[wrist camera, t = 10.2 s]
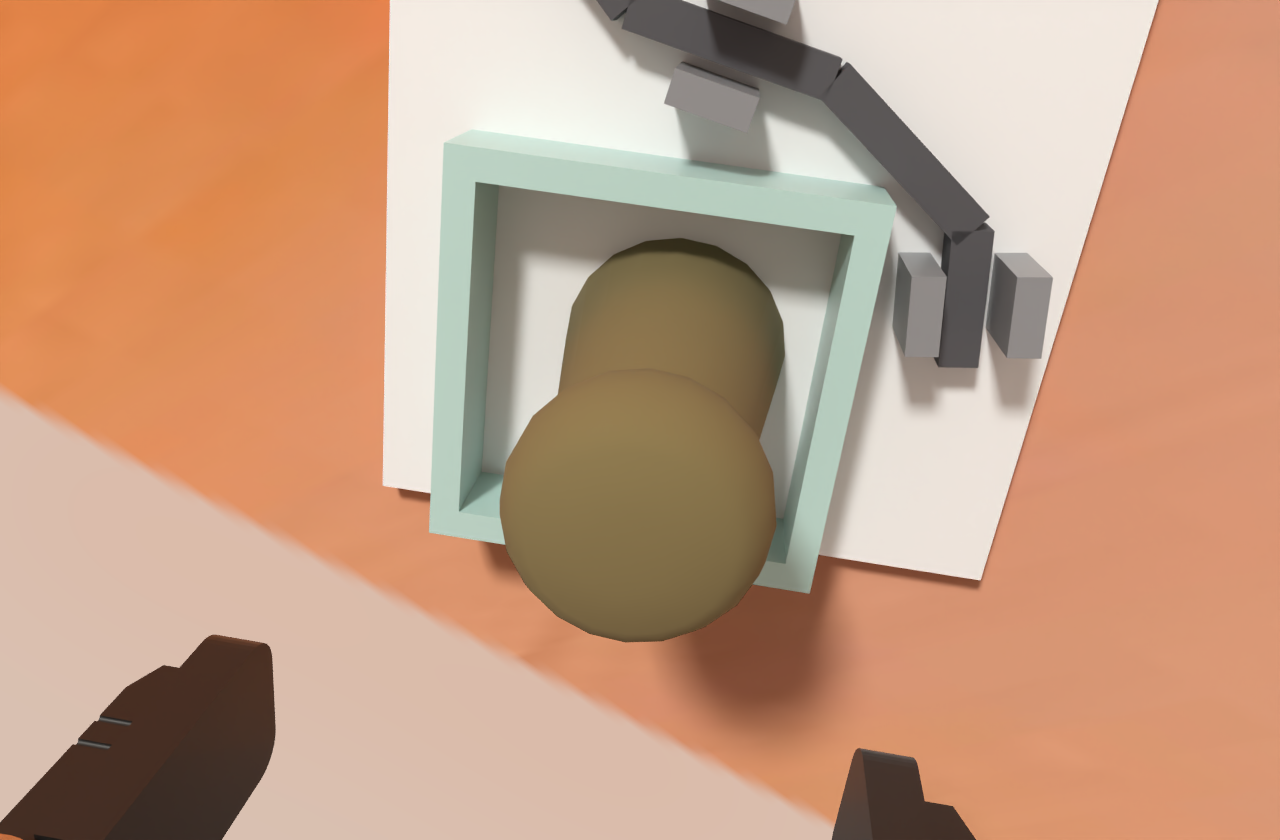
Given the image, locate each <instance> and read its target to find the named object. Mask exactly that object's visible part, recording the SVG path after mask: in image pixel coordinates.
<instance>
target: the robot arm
mask: <svg viewBox="0 0 1280 840" xmlns="http://www.w3.org/2000/svg"><path fill="white" fill-rule="evenodd" d="M274 740H275V708H274V687H273V666H272V654H271V649H270V647H269V646H268V645H267V644H265V643H260V642H255V641H249V640H242V639H237V638H232V637H226V636H220V635H211V636H209V637H207V638H206V639H205V640H204V641H203V642H202V643H201V644H200V645H199V646H198V647H197V649H196V650H195V651H194V652H193V653H192V654H191V655H190V657H189V658H188V659H187V660H186V661H185V662H184V663H183V665H182V666H181V667H180V668H176V667H171V666H165V665H164V666H161V667H160V668H158V669H156V670H155V671H153V672H151V673H149V674H148V675H146V676H144V677H143V678H141V679H139V680H138V681H136V682H134V683H132V684H131V685H129V686H127V687H126V688H125V689H124V690H123V691H122V692H121V693H120V694H119V696H117V698H116V699H115V700H114V701H113V702H112V703H111V704H110V705H109V706H108V707H107V708H106V709H105V710H104V712H103V713H102V714H101V715H100V718H99V720H98V721H94V722H93V723H92V724H91V725H90V727H89V728H88V729H87V730H86V731H85V732H84V733H83V734H82V735H81V736H80V737H79V739H78V743H77V744H76V745H72V746H71V747H70V748H69V749H68V750H67V752H65V753H64V754H63V756H62V757H61V758H60V759H59V760H58V761H57V762H56V763H55V764H54V765H53V767H51V769H50V770H49V771H48V772H47V773H46V774H45V775H44V776H43V777H42V778H41V779H40V780H39V781H38V782H37V784H36V785H35V786H34V787H33V788H32V789H31V790H30V791H29V792H28V793H27V794H26V796H24V798H23V799H22V800H21V801H20V802H19V803H18V804H17V805H16V806H15V807H14V808H13V809H12V810H11V811H10V813H9V814H8V815H7V816H6V817H5V818H4V819H3V820H2V821H1V822H0V840H222V838H223V837H224V835H225V834H226V832H227V831H228V829H229V828H230V826H231V825H232V823H233V821H234V820H235V818H236V817H237V815H238V814H239V812H240V811H241V809H242V808H243V806H244V805H245V803H246V801H247V800H248V798H249V797H250V795H251V794H252V792H253V791H254V789H255V788H256V786H257V785H258V783H259V781H260V780H261V778H262V776H263V775H264V773H265V770H266V768H267V766H268V763H269V761H270V758H271V754H272V751H273V746H274ZM832 840H976V839H975V838H974V836H973V835H972V833H971V832H970V830H969V829H968V828H967V826H966V825H965V823H964V822H963V820H962V819H961V817H960V816H959V815H958V813H957V812H956V810H955V809H954V807H953V806H948V805H942V804H937V803H931V802H925V801H924V796H923V791H922V785H921V780H920V775H919V770H918V765H917V762H916V760H915V759H914V758H912V757H907V756H901V755H895V754H889V753H884V752H878V751H872V750H866V749H861V748H858V749H857V750H856V751H855V753H854V756H853V759H852V762H851V766H850V770H849V774H848V778H847V781H846V785H845V789H844V793H843V797H842V801H841V804H840V808H839V812H838V816H837V820H836V824H835V827H834V831H833V836H832Z"/></svg>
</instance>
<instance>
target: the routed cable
mask: <svg viewBox="0 0 1280 840" xmlns="http://www.w3.org/2000/svg"><path fill="white" fill-rule="evenodd" d="M596 1H597V2H598V3H599V5H600V6H601V8H602V9H603V10H604V12H605V13H606V14H607V16H608V17H609V18H610V20H611V21H614V20H617V19H618V18H620V17H621V16H622V15H623V14H624V13H625V12H626V15H625V18H624V22H623V25H622V29H624V30H627V31H629V32H632V33H635V34H638V35H641V36H643V37H646V38H649V39H652V40H655V41H657V42H660V43H663V44H666V45H669V46H671V47H674V48H677V49H680V50H682V51H685V52H688V53H691V54H694V55H696V56H699V57H702V58H705V59H708V60H710V61H713V62H716V63H719V64H722V65H724V66H727V67H730V68H733V69H736V70H738V71H741V72H744V73H747V74H750V75H752V76H755V77H758V78H761V79H764V80H766V81H769V82H772V83H775V84H778V85H780V86H783V87H786V88H789V89H792V90H794V91H797V92H800V93H803V94H805V95H808V96H811V97H814V98H817V99H819V100H822V101H823V102H824V103H825V104H826V105H827V107H828V108H829V109H830V110H831V111H832V112H833V113H834V114H835V115H836V116H837V117H838V118H839V119H840V121H841V122H842V123H843V124H844V125H845V126H846V127H847V128H848V129H849V130H850V131H851V132H852V133H853V134H854V136H855V137H856V138H857V139H858V140H859V141H860V142H861V143H862V144H863V145H864V146H865V147H866V148H867V150H868V151H869V152H870V153H871V154H872V155H873V156H874V157H875V158H876V159H877V160H878V161H879V162H880V163H881V165H882V166H883V167H884V168H885V169H886V170H887V171H888V172H889V173H890V174H891V175H892V176H893V177H894V179H895V180H896V181H897V182H898V183H899V184H900V185H901V186H902V187H903V188H904V189H905V190H906V191H907V192H908V194H909V195H910V196H911V197H912V198H913V199H914V200H915V201H916V202H917V203H918V204H919V205H920V206H921V208H922V209H923V210H924V211H925V212H926V213H927V214H928V215H929V216H930V217H931V218H932V219H933V220H934V221H935V223H936V224H937V225H938V226H939V227H940V228H941V229H942V230H943V231H944V240H943V250H942V260H941V269H942V271H943V272H944V274H945V275H946V276H947V280H946V289H945V299H944V309H943V318H942V328H941V338H940V348H939V357H933V358H934V360H935V362H936V364H937V366H938V367H945V368H978V366H979V357H980V349H981V341H982V332H983V324H984V316H985V308H986V299H987V291H988V283H989V274H990V266H991V258H992V250H993V241H994V233H995V231H994V230H993V229H992V228H991V227H990V226H989V225H988V224H987V223H984V222H985V221H986V220H987V219H988V218H989V217H990V216H989V215H988V214H987V213H986V212H985V211H984V210H983V209H982V207H981V206H980V205H979V204H978V203H977V202H976V201H975V200H974V199H973V198H972V197H971V195H970V194H969V193H968V192H967V191H966V190H965V189H964V188H963V187H962V186H961V184H960V183H959V182H958V181H957V180H956V179H955V178H954V177H953V176H952V175H951V174H950V172H949V171H948V170H947V169H946V168H945V167H944V166H943V165H942V164H941V163H940V161H939V160H938V159H937V158H936V157H935V156H934V155H933V154H932V153H931V152H930V151H929V149H928V148H927V147H926V146H925V145H924V144H923V143H922V142H921V141H920V140H919V139H918V137H917V136H916V135H915V134H914V133H913V132H912V131H911V130H910V129H909V128H908V126H907V125H906V124H905V123H904V122H903V121H902V120H901V119H900V118H899V117H898V116H897V114H896V113H895V112H894V111H893V110H892V109H891V108H890V107H889V106H888V105H887V103H886V102H885V101H884V100H883V99H882V98H881V97H880V96H879V95H878V94H877V93H876V91H875V90H874V89H873V88H872V87H871V86H870V85H869V84H868V83H867V82H866V80H865V79H864V78H863V77H862V76H861V75H860V74H859V73H858V72H857V71H856V70H855V68H854V67H853V66H852V65H851V64H850V63H848V62H846V63H845V64H844V65H843V66H842V67H841V68H840V65H841V62H842V60H843V59H842V58H841V57H839V56H836V55H834V54H831V53H828V52H825V51H822V50H820V49H817V48H814V47H811V46H809V45H806V44H803V43H800V42H797V41H795V40H792V39H789V38H786V37H783V36H781V35H778V34H775V33H772V32H770V31H767V30H764V29H761V28H758V27H756V26H753V25H750V24H747V23H745V22H742V21H739V20H736V19H733V18H731V17H728V16H725V15H722V14H719V13H717V12H714V11H711V10H708V9H706V8H703V7H700V6H697V5H694V4H692V3H689V2H686V1H683V0H596ZM839 68H840V69H839Z"/></svg>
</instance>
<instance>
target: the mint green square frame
mask: <svg viewBox="0 0 1280 840" xmlns="http://www.w3.org/2000/svg"><path fill="white" fill-rule="evenodd" d="M499 185H502V186H509V187H516V188H523V189H530V190H537V191H544V192H551V193H558V194H565V195H572V196H579V197H586V198H593V199H600V200H607V201H614V202H621V203H629V204H636V205H643V206H650V207H657V208H664V209H671V210H678V211H685V212H692V213H699V214H706V215H713V216H720V217H727V218H734V219H741V220H748V221H755V222H762V223H769V224H776V225H783V226H790V227H797V228H804V229H811V230H818V231H825V232H832V233H839V234H841V239H840V244H839V249H838V254H837V259H836V263H835V268H834V273H833V278H832V283H831V288H830V293H829V298H828V302H827V307H826V312H825V317H824V322H823V327H822V332H821V337H820V342H819V346H818V351H817V356H816V361H815V366H814V371H813V376H812V381H811V385H810V390H809V395H808V400H807V405H806V410H805V415H804V420H803V425H802V429H801V434H800V439H799V444H798V449H797V454H796V459H795V464H794V468H793V473H792V478H791V483H790V488H789V493H788V498H787V503H786V508H785V512H784V517H783V519H780V518H776V524H777V526H776V529H775V533H774V536H773V539H772V543H771V546H770V549H769V552H768V556H767V559H766V562H765V564H764V566H763V569H762V571H761V573H760V575H759V576H758V578H757V579H756V580H755V582H754V583H753V585H759V586H765V587H772V588H778V589H784V590H790V591H796V592H803V593H809V594H810V590H811V585H812V581H813V576H814V572H815V568H816V563H817V559H818V554H819V550H820V545H821V541H822V536H823V532H824V528H825V523H826V519H827V514H828V510H829V505H830V501H831V496H832V492H833V488H834V483H835V479H836V474H837V470H838V465H839V461H840V457H841V452H842V448H843V443H844V439H845V434H846V430H847V425H848V421H849V417H850V412H851V408H852V403H853V399H854V394H855V390H856V386H857V381H858V377H859V372H860V368H861V363H862V359H863V354H864V350H865V346H866V341H867V337H868V332H869V328H870V323H871V319H872V315H873V310H874V306H875V301H876V297H877V292H878V288H879V283H880V279H881V275H882V270H883V266H884V261H885V257H886V252H887V248H888V243H889V239H890V235H891V230H892V226H893V221H894V217H895V212H896V208H897V206H896V204H895V203H894V201H893V200H892V198H891V197H890V195H889V194H888V192H887V191H886V189H885V188H884V187H881V186H874V185H867V184H860V183H853V182H846V181H839V180H831V179H824V178H817V177H810V176H803V175H796V174H788V173H781V172H774V171H767V170H760V169H753V168H745V167H738V166H731V165H724V164H717V163H710V162H702V161H695V160H688V159H681V158H674V157H667V156H659V155H652V154H645V153H638V152H631V151H624V150H616V149H609V148H602V147H595V146H588V145H581V144H573V143H566V142H559V141H552V140H545V139H538V138H530V137H523V136H516V135H509V134H502V133H495V132H487V131H480V130H473V129H471V130H469V131H467V132H465V133H463V134H461V135H459V136H457V137H454V138H452V139H450V140H448V141H446V142H444V148H443V175H442V202H441V228H440V255H439V282H438V309H437V336H436V363H435V389H434V416H433V443H432V470H431V497H430V524H429V533H435V534H441V535H448V536H454V537H460V538H466V539H473V540H479V541H485V542H491V543H498V544H504V545H505V540H504V535H503V530H502V524H501V519H500V495H501V489H502V483H503V477H504V475H500V474H494V473H487V472H482V459H483V442H484V426H485V409H486V393H487V376H488V360H489V343H490V327H491V310H492V294H493V277H494V261H495V244H496V228H497V211H498V194H499Z"/></svg>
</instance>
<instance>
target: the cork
mask: <svg viewBox="0 0 1280 840" xmlns="http://www.w3.org/2000/svg"><path fill="white" fill-rule="evenodd" d="M784 358H785V345H784V327H783V320H782V318H781V316H780V313H779V311H778V308H777V306H776V303H775V301H774V299H773V296H772V294H771V291H770V290H769V289H768V287H767V286H766V285H765V284H764V283H763V282H762V281H761V279H760V278H759V277H758V276H757V275H756V274H755V273H754V271H753V270H752V269H751V268H750V267H749V266H748V264H746V263H744V262H743V261H741V260H739V259H738V258H736V257H734V256H733V255H731V254H729V253H728V252H726V251H724V250H723V249H721V248H719V247H718V246H715V245H711V244H706V243H702V242H697V241H693V240H689V239H684V238H674V239H662V240H650V241H644V242H642V243H640V244H637V245H635V246H633V247H630V248H628V249H626V250H623V251H621V252H619V253H616V254H614V255H613V256H611V257H610V258H609V259H608V260H607V261H606V262H605V263H604V264H602V265H601V266H600V267H599V268H598V269H597V270H596V271H595V272H593V273H592V274H591V275H590V276H589V277H588V278H587V280H586V282H585V284H584V285H583V287H582V289H581V291H580V292H579V294H578V296H577V298H576V300H575V301H574V303H573V305H572V308H571V313H570V319H569V324H568V329H567V335H566V341H565V348H564V355H563V362H562V368H561V375H560V382H559V389H558V395H557V396H556V397H555V398H553V399H552V400H551V401H550V402H549V403H547V404H546V405H545V406H544V407H543V408H542V409H540V410H539V411H538V412H537V413H536V414H534V415H533V416H532V418H531V420H530V421H529V423H528V425H527V427H526V428H525V430H524V432H523V434H522V435H521V437H520V439H519V440H518V442H517V444H516V446H515V447H514V449H513V451H512V453H511V454H510V456H509V458H508V460H507V461H506V465H505V471H504V477H503V483H502V489H501V495H500V519H501V524H502V530H503V535H504V540H505V546H506V551H507V553H508V555H509V556H510V558H511V560H512V562H513V564H514V565H515V567H516V569H517V571H518V573H519V574H520V576H521V578H522V580H523V582H524V583H525V585H526V586H527V587H528V588H529V589H530V591H531V592H532V593H533V594H534V595H535V596H537V597H538V598H539V599H540V600H541V601H542V602H543V603H544V604H545V605H546V606H547V607H548V608H549V609H550V610H551V611H552V612H553V613H554V614H555V615H556V616H557V617H559V618H561V619H563V620H565V621H567V622H568V623H570V624H572V625H574V626H576V627H578V628H580V629H582V630H583V631H585V632H587V633H589V634H593V635H597V636H601V637H605V638H609V639H614V640H618V641H622V642H652V641H664V640H667V639H671V638H674V637H677V636H680V635H683V634H687V633H690V632H693V631H696V630H699V629H701V628H703V627H706V626H707V625H708V624H710V623H711V622H713V621H714V620H716V619H717V618H719V617H720V616H722V615H723V614H725V613H726V612H728V611H729V610H730V609H732V608H733V607H735V606H736V605H737V604H738V603H739V602H740V600H741V599H742V598H743V596H744V595H745V594H746V592H747V591H748V590H749V588H750V587H751V586H752V584H753V583H754V582H755V580H756V579H757V578H758V576H759V575H760V573H761V571H762V569H763V566H764V564H765V562H766V559H767V556H768V552H769V549H770V546H771V543H772V539H773V536H774V533H775V529H776V526H777V524H776V508H775V493H774V479H773V471H772V469H771V466H770V464H769V462H768V459H767V457H766V455H765V453H764V450H763V448H762V446H761V443H760V441H759V440H760V437H761V433H762V430H763V427H764V424H765V421H766V417H767V414H768V411H769V408H770V405H771V402H772V398H773V395H774V392H775V389H776V386H777V382H778V379H779V375H780V372H781V368H782V365H783V361H784Z"/></svg>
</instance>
